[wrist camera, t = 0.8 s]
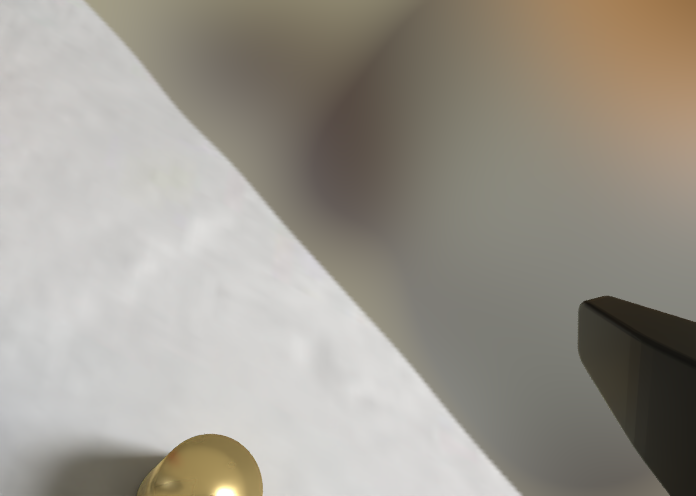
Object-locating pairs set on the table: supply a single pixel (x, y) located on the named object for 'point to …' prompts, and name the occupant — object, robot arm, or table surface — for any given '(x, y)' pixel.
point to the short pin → (205, 470)
